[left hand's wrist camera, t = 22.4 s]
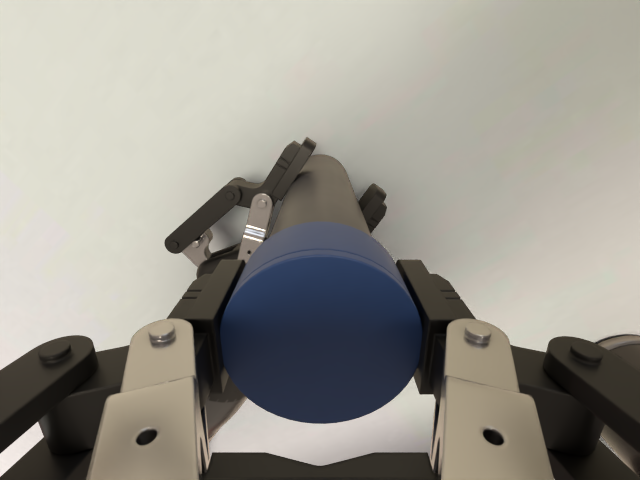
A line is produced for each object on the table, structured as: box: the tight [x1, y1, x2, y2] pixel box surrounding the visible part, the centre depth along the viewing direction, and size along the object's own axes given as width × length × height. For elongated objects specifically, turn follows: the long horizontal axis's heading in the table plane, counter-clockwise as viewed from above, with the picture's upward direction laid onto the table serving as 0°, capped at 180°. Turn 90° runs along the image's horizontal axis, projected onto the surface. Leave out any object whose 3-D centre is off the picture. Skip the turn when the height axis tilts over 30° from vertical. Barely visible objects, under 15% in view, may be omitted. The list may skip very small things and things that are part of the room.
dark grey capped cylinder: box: [269, 155, 372, 238], centre depth 18 cm, size 4×4×19 cm
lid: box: [220, 222, 423, 424], centre depth 10 cm, size 5×5×2 cm
